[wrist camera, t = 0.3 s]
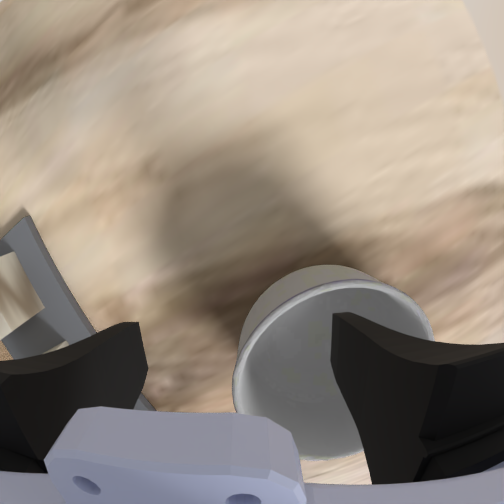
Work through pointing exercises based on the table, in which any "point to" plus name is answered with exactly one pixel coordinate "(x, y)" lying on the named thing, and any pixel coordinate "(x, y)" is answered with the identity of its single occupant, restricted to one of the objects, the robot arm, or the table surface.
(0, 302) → the marked block two
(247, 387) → the teacup
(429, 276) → the table surface
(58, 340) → the mat
